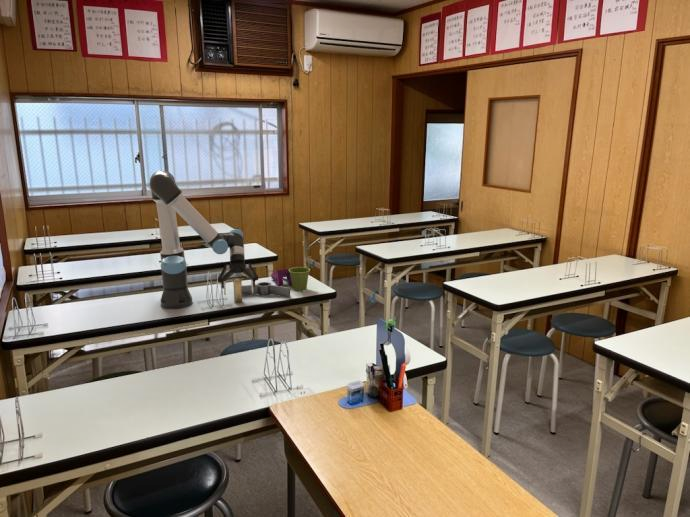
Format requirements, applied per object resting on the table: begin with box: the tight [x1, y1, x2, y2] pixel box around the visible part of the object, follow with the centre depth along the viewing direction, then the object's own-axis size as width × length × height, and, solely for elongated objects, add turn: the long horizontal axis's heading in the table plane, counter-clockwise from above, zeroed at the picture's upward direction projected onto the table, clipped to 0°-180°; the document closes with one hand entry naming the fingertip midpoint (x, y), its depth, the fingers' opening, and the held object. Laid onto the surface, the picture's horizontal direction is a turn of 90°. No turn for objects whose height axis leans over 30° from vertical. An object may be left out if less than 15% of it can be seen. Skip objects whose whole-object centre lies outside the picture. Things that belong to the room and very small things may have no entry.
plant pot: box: [288, 266, 311, 292], centre depth 273 cm, size 12×12×11 cm
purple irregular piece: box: [270, 268, 293, 287], centre depth 286 cm, size 9×8×18 cm
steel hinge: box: [242, 281, 291, 298], centre depth 266 cm, size 30×10×5 cm, turn 87°
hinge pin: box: [232, 278, 243, 304], centre depth 252 cm, size 4×4×12 cm
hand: (238, 293), depth 251 cm, fingers open, 13 cm apart
